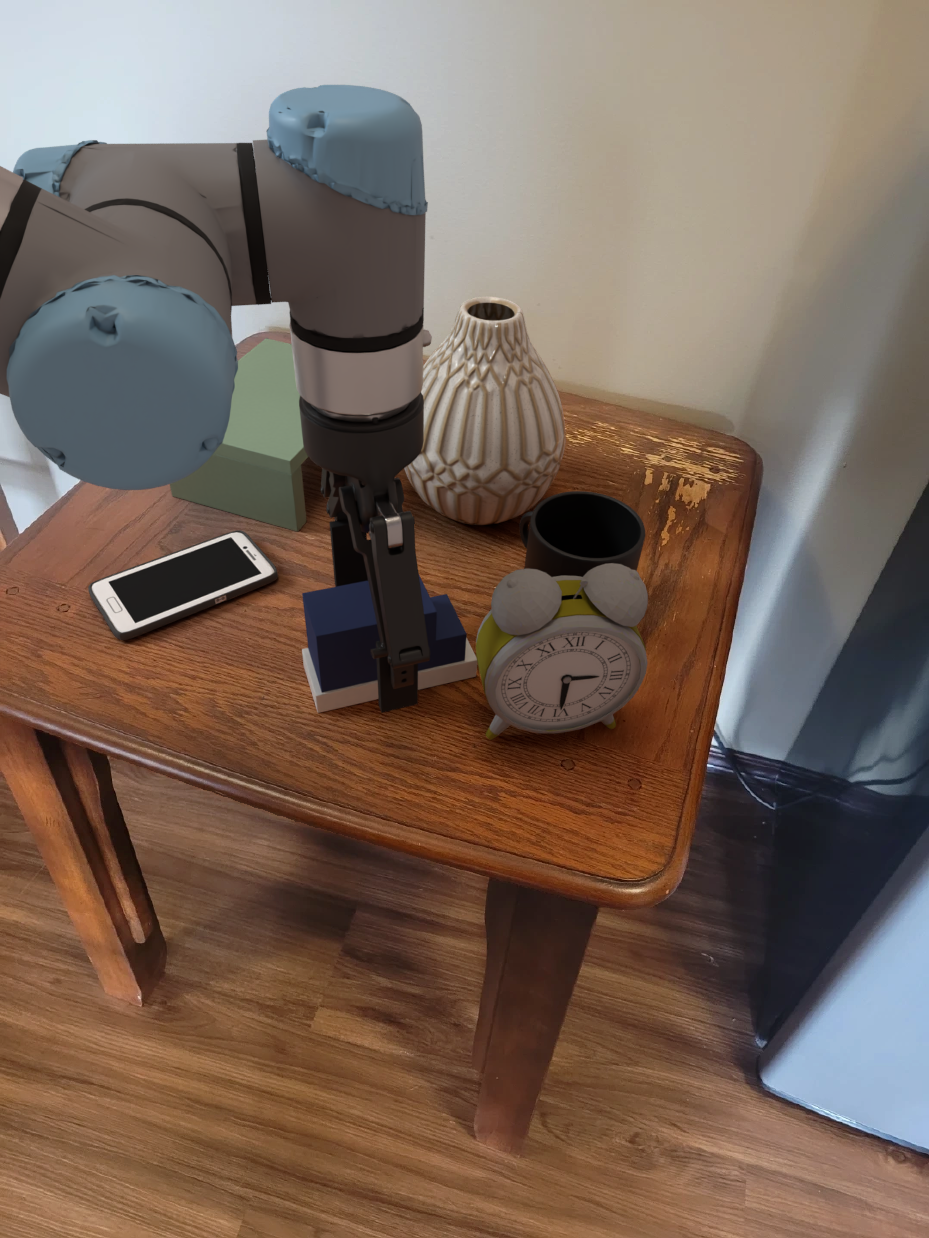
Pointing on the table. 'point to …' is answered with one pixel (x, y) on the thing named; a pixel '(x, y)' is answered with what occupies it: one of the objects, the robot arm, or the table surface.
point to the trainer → (373, 645)
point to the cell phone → (181, 584)
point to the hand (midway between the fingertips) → (373, 641)
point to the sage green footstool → (257, 445)
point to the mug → (581, 534)
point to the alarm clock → (562, 648)
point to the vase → (487, 419)
